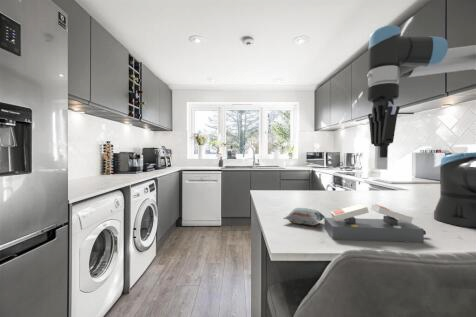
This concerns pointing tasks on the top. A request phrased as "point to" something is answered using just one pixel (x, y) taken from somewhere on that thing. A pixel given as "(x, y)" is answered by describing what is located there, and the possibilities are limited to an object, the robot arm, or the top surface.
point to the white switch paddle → (349, 212)
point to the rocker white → (392, 213)
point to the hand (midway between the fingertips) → (380, 169)
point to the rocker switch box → (374, 229)
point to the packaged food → (305, 216)
